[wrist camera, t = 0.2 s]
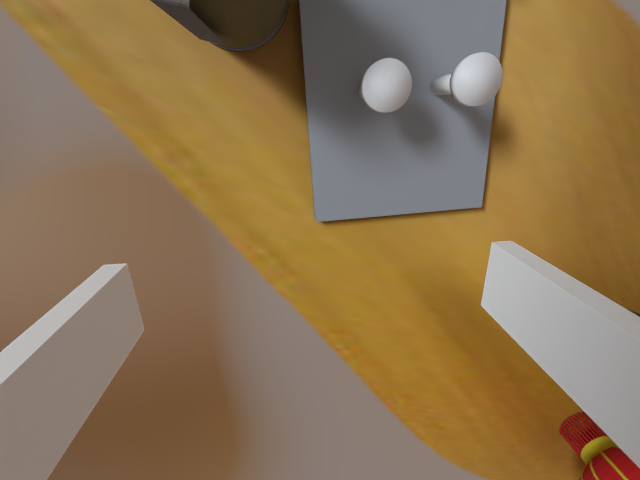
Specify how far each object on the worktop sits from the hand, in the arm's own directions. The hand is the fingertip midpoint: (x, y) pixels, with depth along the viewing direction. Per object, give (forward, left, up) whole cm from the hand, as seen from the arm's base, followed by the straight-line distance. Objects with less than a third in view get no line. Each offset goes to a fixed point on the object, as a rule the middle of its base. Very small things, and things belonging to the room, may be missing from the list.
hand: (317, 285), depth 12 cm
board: (-5, +11, -28) cm, 30 cm away
